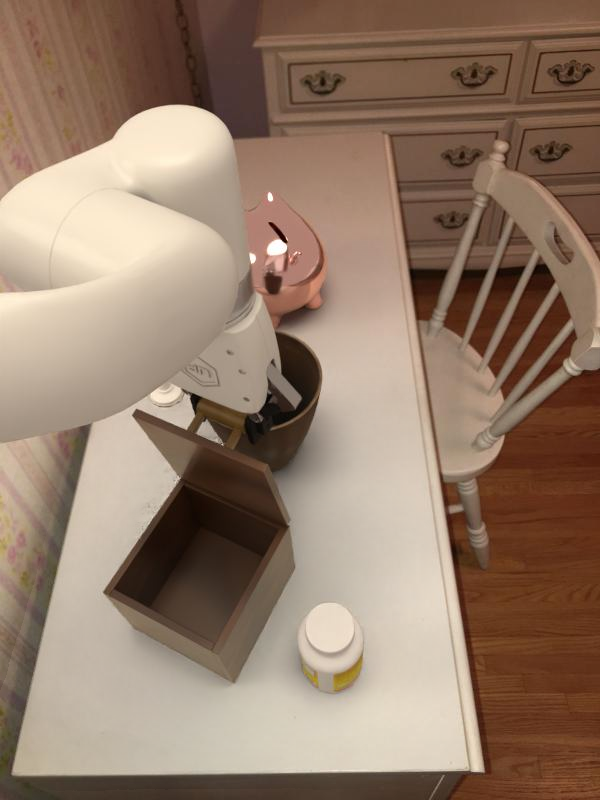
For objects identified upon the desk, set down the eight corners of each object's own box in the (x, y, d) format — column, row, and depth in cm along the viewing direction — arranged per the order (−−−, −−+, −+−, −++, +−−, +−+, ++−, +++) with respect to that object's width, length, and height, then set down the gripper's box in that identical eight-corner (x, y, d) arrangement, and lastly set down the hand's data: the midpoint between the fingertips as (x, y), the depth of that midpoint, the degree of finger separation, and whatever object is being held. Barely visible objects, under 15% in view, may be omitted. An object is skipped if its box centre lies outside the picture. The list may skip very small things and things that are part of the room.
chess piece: (145, 403, 92) (126, 359, 84) (157, 377, 95) (140, 331, 87) (177, 409, 92) (161, 365, 84) (188, 382, 94) (174, 337, 86)
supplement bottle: (367, 639, 72) (372, 601, 61) (354, 702, 68) (357, 672, 58) (309, 624, 73) (305, 584, 63) (293, 684, 70) (286, 652, 59)
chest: (234, 683, 70) (218, 655, 60) (132, 627, 74) (102, 592, 64) (295, 567, 77) (289, 525, 68) (199, 521, 81) (181, 476, 72)
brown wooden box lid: (263, 472, 54) (292, 420, 56) (131, 415, 58) (162, 368, 60) (287, 526, 67) (309, 482, 69) (179, 477, 71) (202, 437, 73)
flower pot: (338, 419, 89) (339, 344, 76) (302, 512, 81) (296, 446, 68) (239, 393, 93) (224, 316, 80) (195, 479, 85) (170, 410, 72)
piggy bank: (286, 246, 111) (279, 164, 98) (346, 308, 102) (347, 227, 89) (207, 282, 106) (189, 202, 94) (262, 350, 97) (251, 272, 84)
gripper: (78, 282, 48) (139, 419, 63) (281, 357, 43) (295, 487, 58) (137, 222, 52) (181, 365, 66) (329, 284, 47) (331, 423, 61)
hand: (233, 420), depth 62 cm, fingers closed on brown wooden box lid, 5 cm apart
